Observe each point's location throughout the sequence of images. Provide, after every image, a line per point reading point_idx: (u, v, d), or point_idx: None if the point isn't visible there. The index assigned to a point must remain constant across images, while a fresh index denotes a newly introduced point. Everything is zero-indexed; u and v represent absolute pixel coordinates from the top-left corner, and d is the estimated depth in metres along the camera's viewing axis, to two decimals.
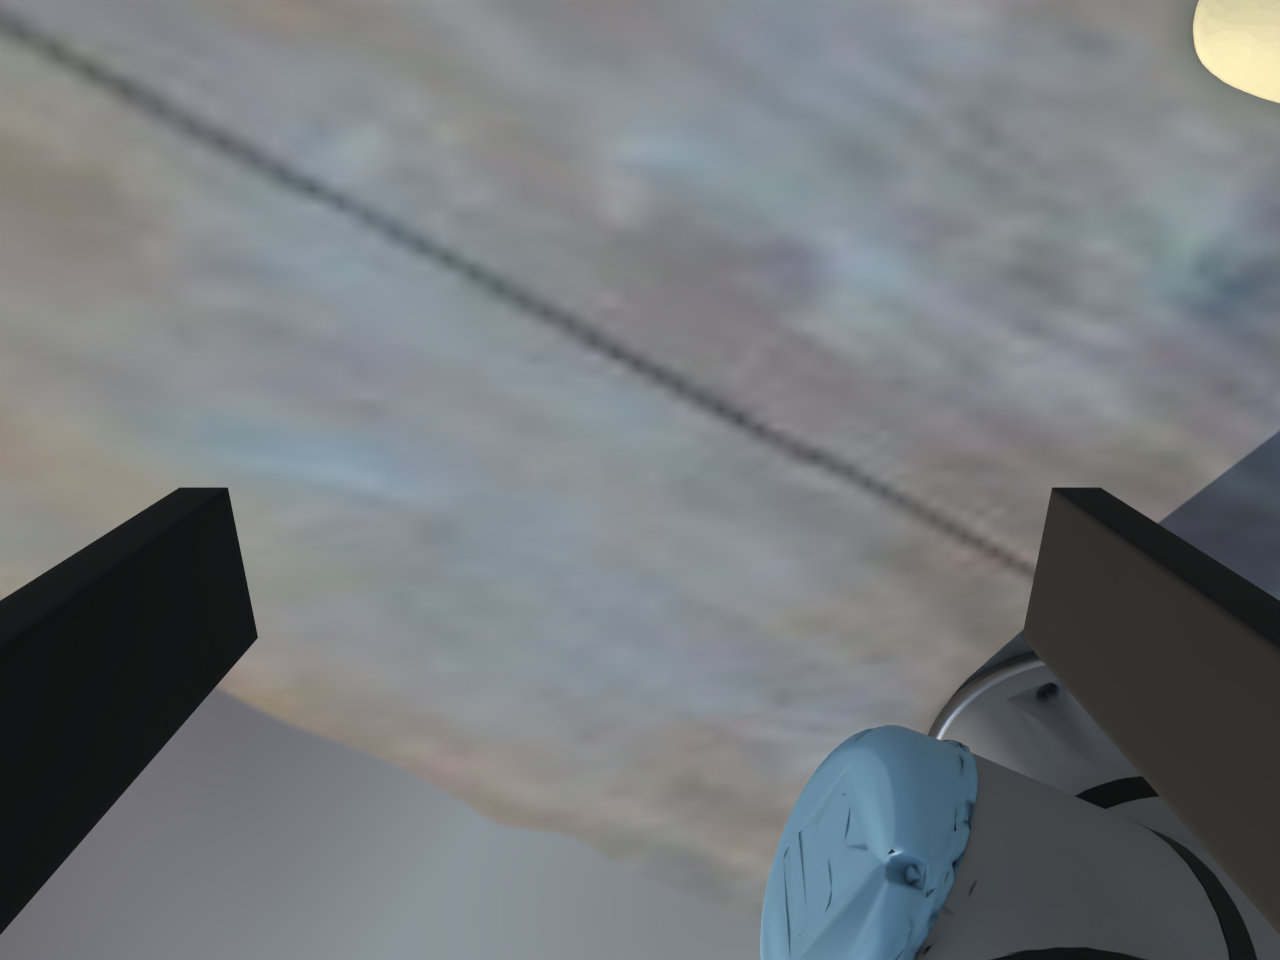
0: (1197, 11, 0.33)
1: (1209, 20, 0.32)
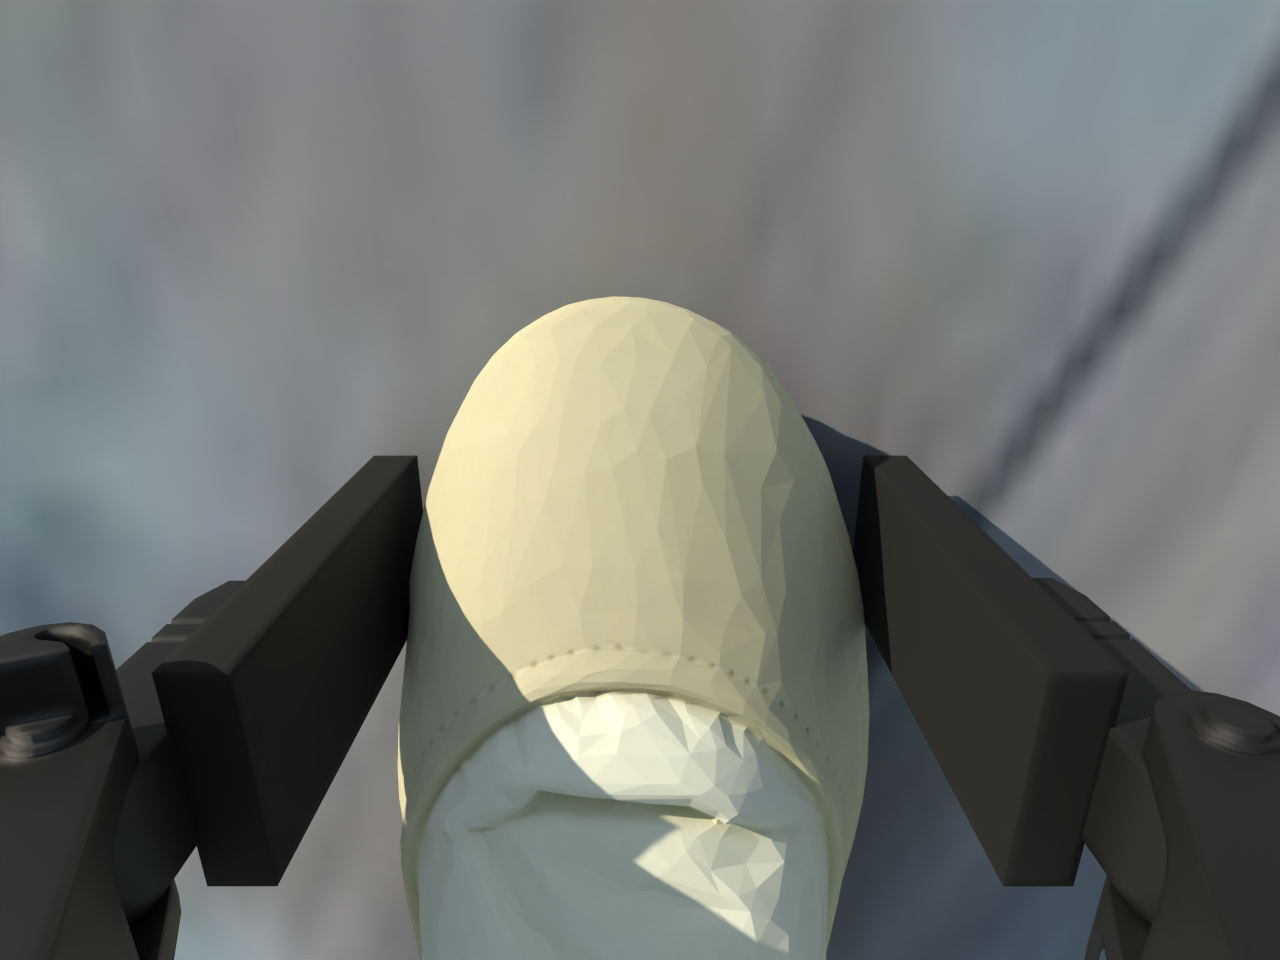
0: (616, 298, 0.12)
1: (588, 325, 0.11)
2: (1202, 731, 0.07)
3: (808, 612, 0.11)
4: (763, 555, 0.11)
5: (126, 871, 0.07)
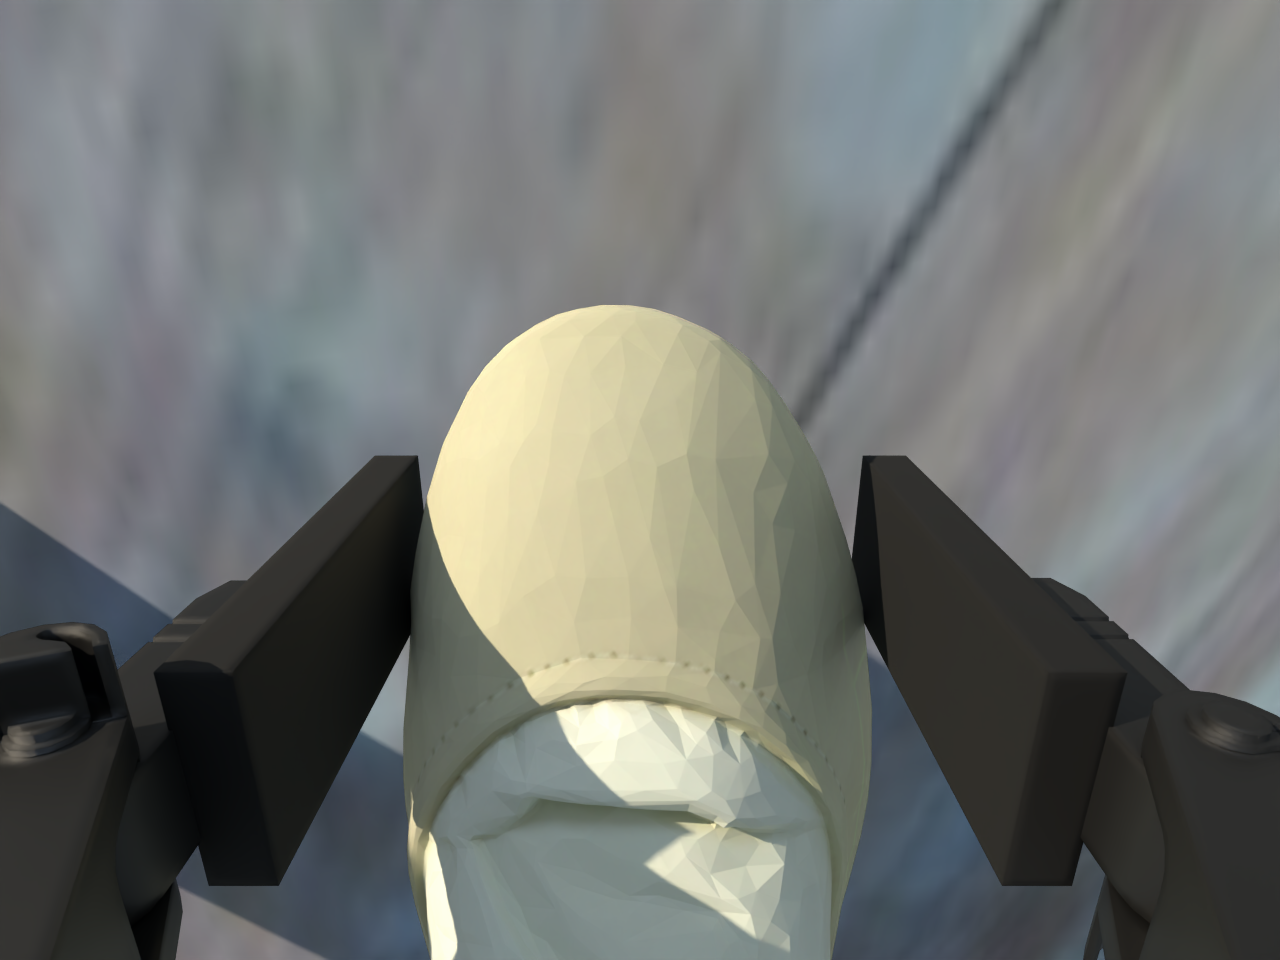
0: (605, 306, 0.12)
1: (578, 335, 0.11)
2: (1201, 731, 0.07)
3: (804, 614, 0.11)
4: (756, 559, 0.11)
5: (128, 870, 0.07)
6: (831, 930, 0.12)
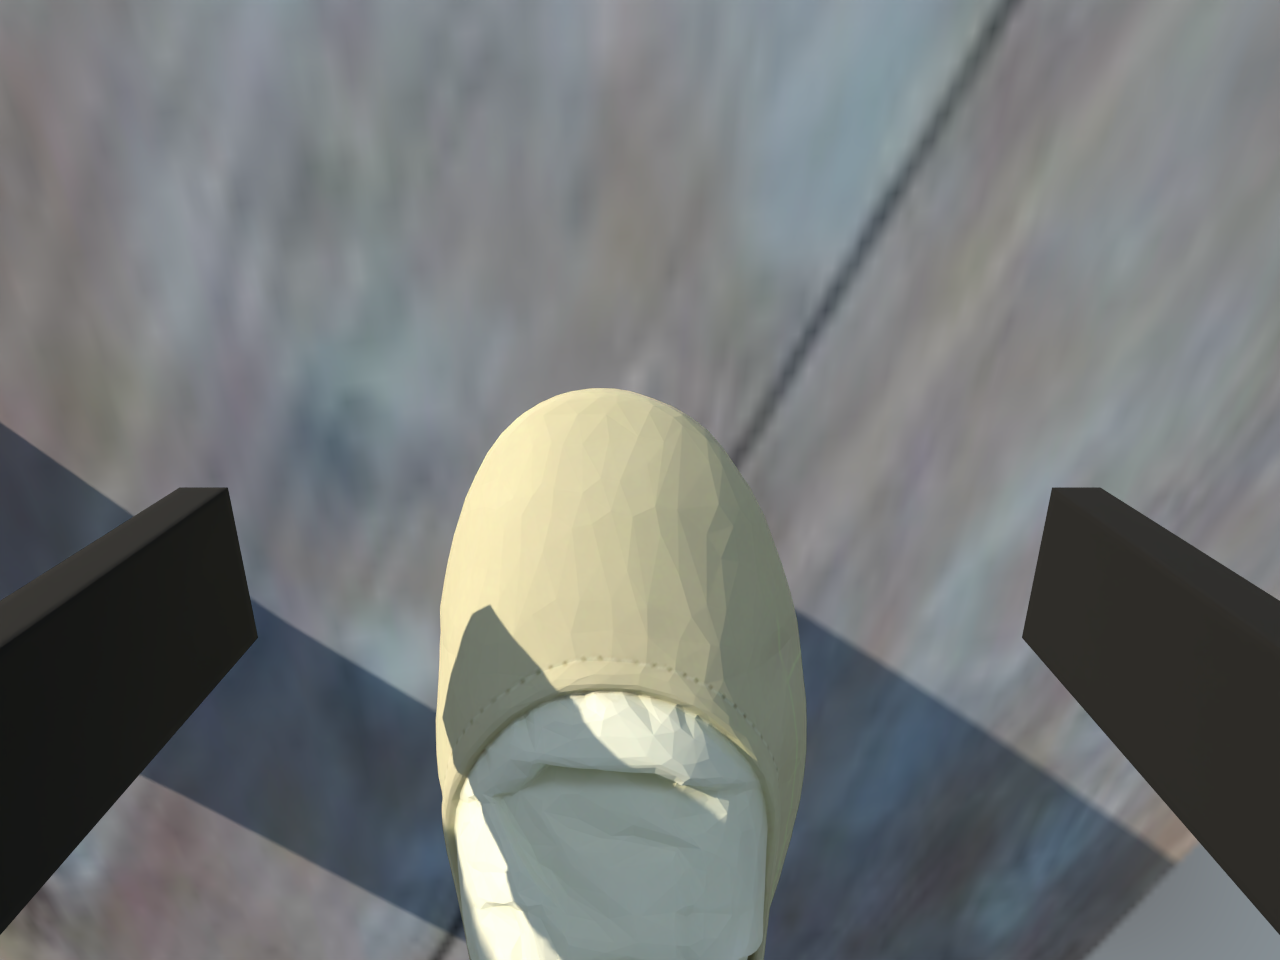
0: (594, 390, 0.15)
1: (573, 413, 0.15)
2: None
3: (745, 626, 0.15)
4: (708, 585, 0.14)
5: None
6: (769, 871, 0.16)
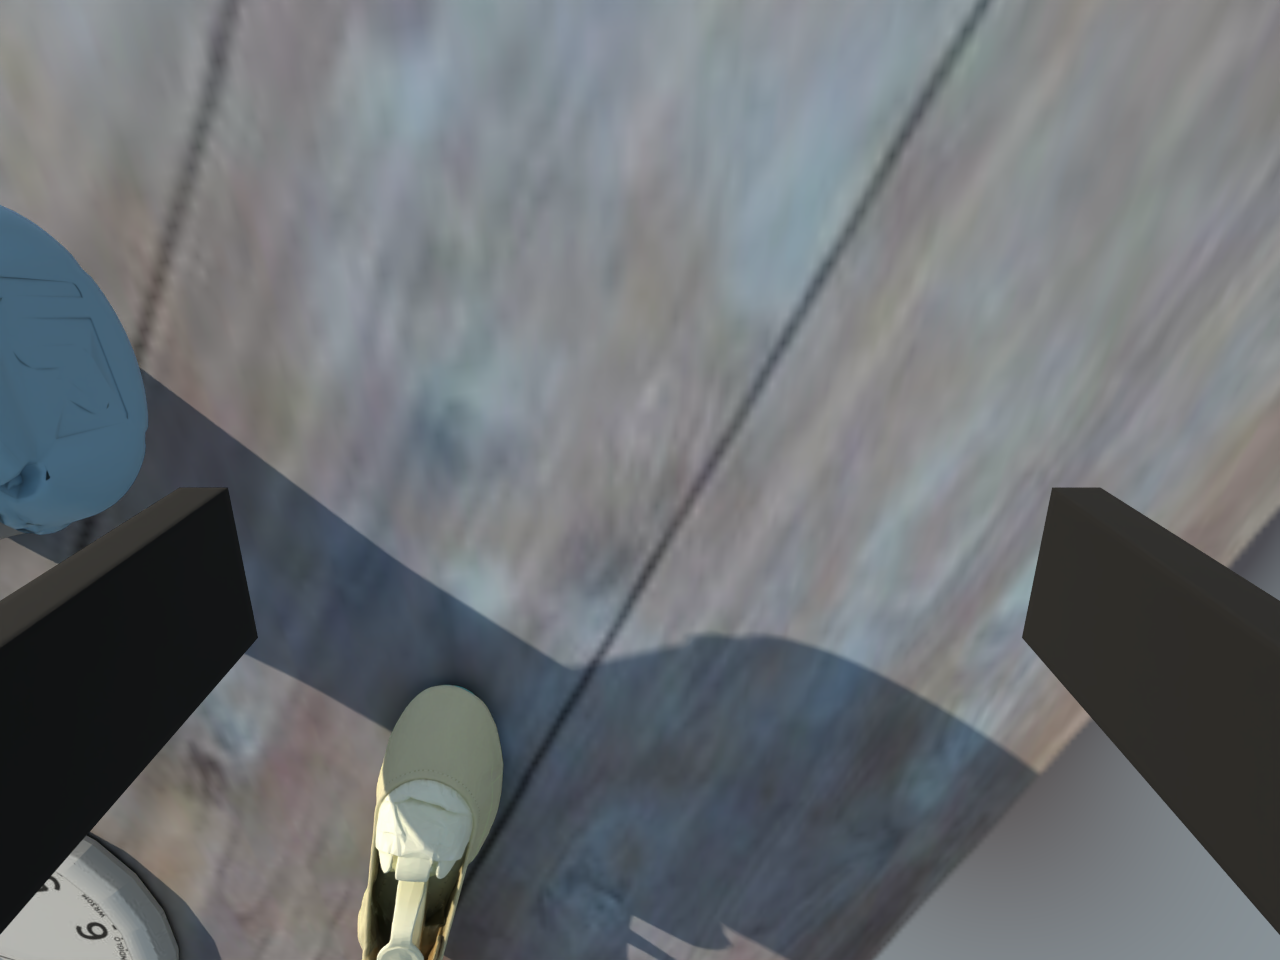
0: (452, 687, 0.50)
1: (444, 694, 0.50)
2: None
3: (479, 767, 0.50)
4: (470, 754, 0.49)
5: None
6: (471, 840, 0.51)
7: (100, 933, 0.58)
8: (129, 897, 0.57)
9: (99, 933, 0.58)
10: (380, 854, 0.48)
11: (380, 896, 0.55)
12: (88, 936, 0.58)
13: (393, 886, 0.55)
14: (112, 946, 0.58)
